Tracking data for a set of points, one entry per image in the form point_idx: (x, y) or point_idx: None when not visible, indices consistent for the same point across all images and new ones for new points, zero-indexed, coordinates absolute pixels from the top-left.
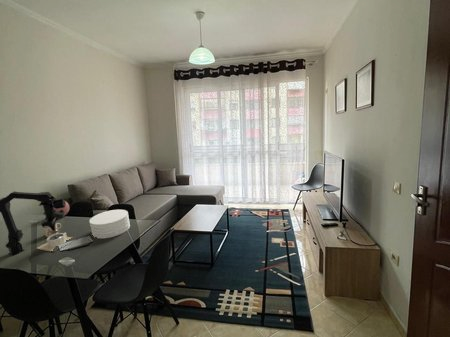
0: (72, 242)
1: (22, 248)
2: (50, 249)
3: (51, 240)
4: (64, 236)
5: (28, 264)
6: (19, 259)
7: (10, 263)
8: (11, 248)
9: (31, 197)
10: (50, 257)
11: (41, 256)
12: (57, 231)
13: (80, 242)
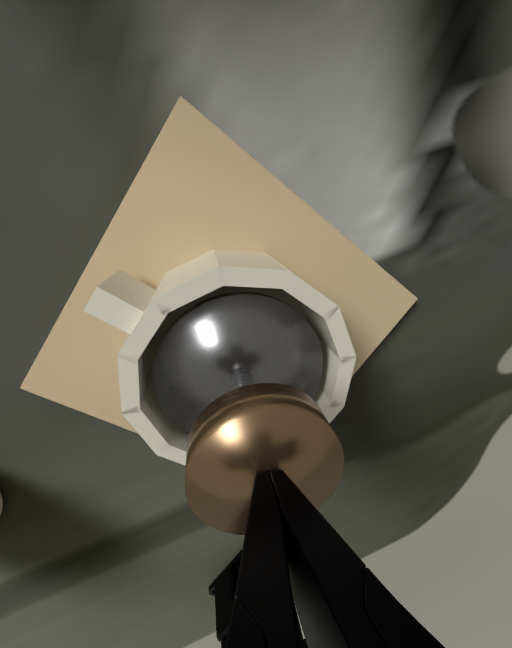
0: (262, 155)
1: (232, 569)
2: (360, 350)
3: (346, 391)
4: (241, 264)
5: (490, 411)
6: (377, 500)
7: (401, 520)
8: (300, 632)
9: None
10: (490, 294)
11: (423, 377)
12: (296, 393)
13: (316, 14)
